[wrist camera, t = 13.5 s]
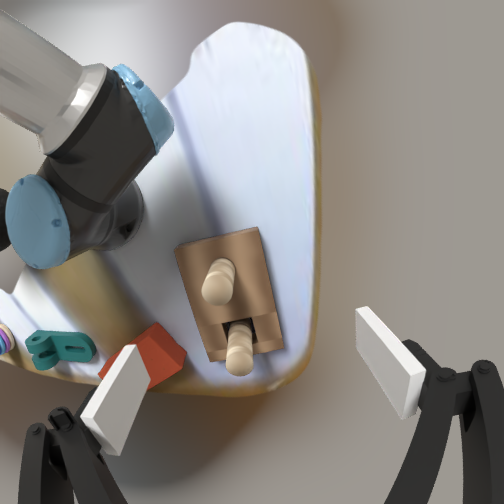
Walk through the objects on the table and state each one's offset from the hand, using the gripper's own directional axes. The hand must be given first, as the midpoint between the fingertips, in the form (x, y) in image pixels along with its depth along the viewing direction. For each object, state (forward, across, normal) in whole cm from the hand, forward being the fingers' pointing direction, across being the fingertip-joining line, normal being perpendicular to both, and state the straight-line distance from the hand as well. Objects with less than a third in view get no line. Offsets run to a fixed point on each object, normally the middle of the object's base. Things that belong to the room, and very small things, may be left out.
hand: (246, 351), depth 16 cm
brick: (+35, -26, -21) cm, 48 cm away
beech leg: (+34, -4, -16) cm, 38 cm away
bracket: (+35, -46, -17) cm, 60 cm away
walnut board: (+34, -4, -10) cm, 36 cm away
